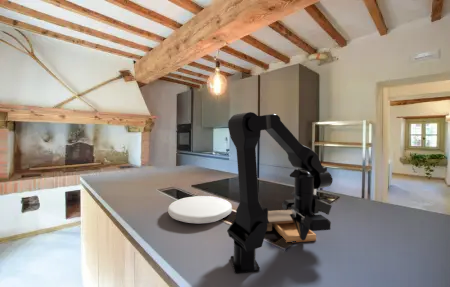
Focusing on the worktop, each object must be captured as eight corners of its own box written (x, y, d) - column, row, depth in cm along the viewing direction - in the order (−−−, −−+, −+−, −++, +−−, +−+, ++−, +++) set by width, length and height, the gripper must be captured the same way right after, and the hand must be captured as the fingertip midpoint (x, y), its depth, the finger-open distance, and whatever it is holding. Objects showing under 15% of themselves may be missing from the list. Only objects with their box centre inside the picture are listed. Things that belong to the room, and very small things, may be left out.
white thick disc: (184, 192, 104) (236, 196, 99) (184, 205, 104) (236, 209, 99) (155, 205, 77) (224, 211, 72) (154, 222, 77) (224, 230, 71)
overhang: (314, 227, 76) (314, 218, 76) (262, 231, 73) (262, 222, 72) (300, 216, 86) (300, 209, 85) (254, 219, 82) (254, 211, 82)
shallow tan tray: (316, 240, 66) (316, 234, 66) (286, 242, 65) (287, 236, 65) (295, 222, 80) (295, 217, 80) (270, 223, 79) (270, 218, 79)
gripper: (349, 198, 56) (347, 254, 57) (310, 183, 75) (310, 225, 75) (311, 200, 55) (310, 257, 55) (282, 184, 73) (281, 227, 74)
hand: (303, 239), depth 65 cm, fingers closed
